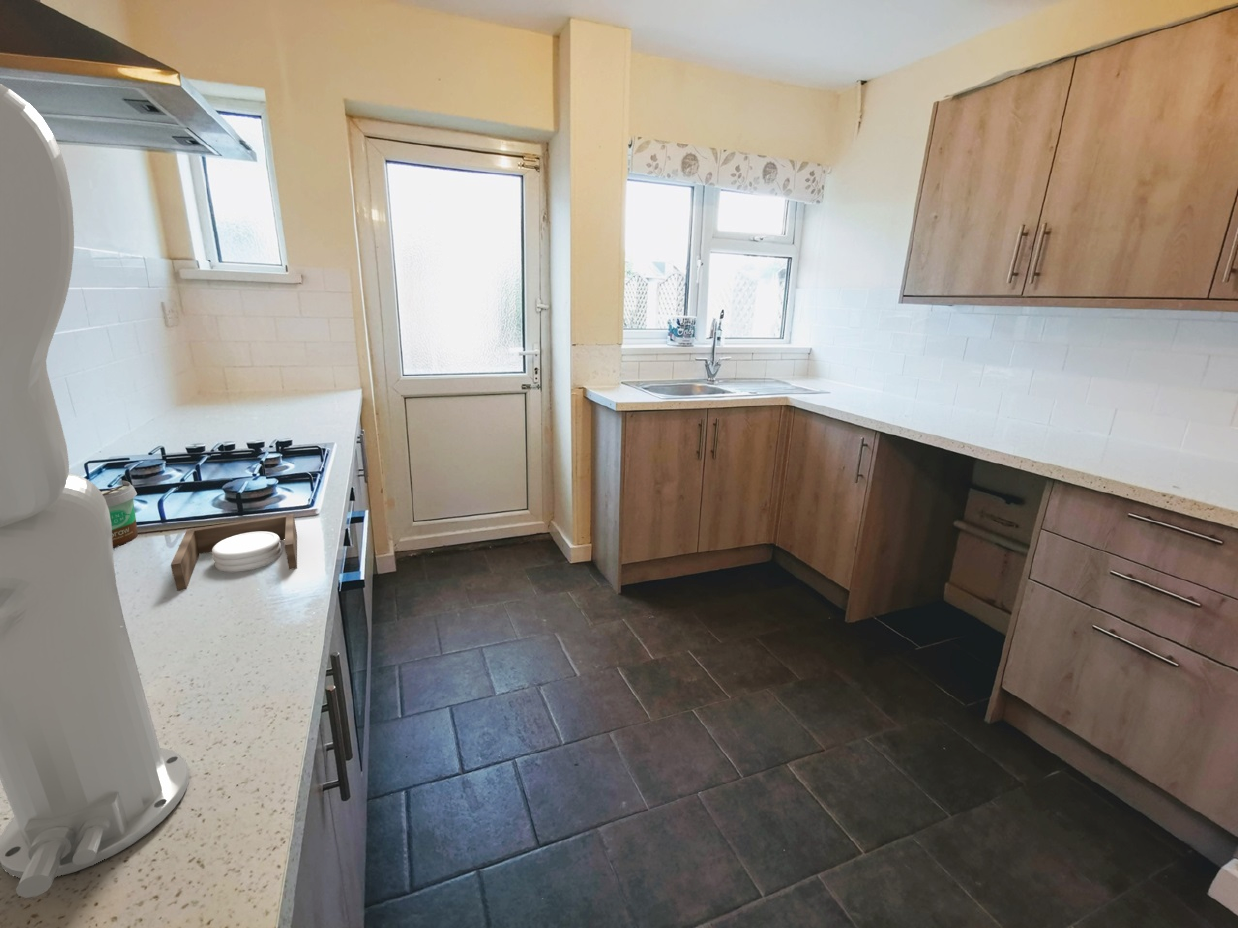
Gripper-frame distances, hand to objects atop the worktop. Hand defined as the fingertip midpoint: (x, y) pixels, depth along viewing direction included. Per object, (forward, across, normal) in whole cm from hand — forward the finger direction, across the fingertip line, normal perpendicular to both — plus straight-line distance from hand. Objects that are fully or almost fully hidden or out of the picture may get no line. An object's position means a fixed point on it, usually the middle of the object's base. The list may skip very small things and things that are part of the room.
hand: (6, 445), depth 59 cm
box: (+29, +27, -14) cm, 42 cm away
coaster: (+29, +28, -15) cm, 43 cm away
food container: (+29, +47, +7) cm, 56 cm away
